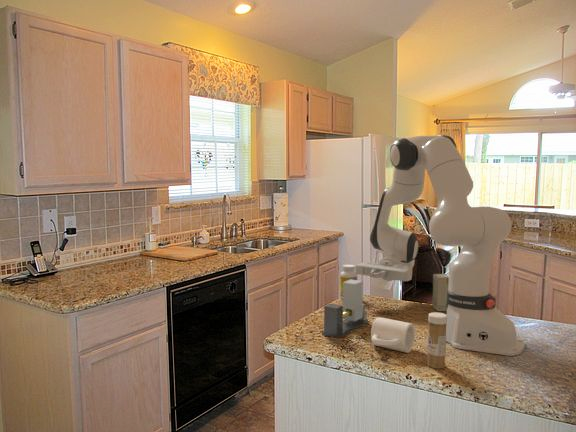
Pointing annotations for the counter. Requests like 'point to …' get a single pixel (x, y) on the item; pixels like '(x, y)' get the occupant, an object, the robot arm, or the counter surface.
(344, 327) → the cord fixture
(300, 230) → the counter surface
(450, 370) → the counter surface
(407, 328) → the mug
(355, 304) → the box sleeve
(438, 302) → the skincare box
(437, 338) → the sprinkles bottle
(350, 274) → the supplement bottle
